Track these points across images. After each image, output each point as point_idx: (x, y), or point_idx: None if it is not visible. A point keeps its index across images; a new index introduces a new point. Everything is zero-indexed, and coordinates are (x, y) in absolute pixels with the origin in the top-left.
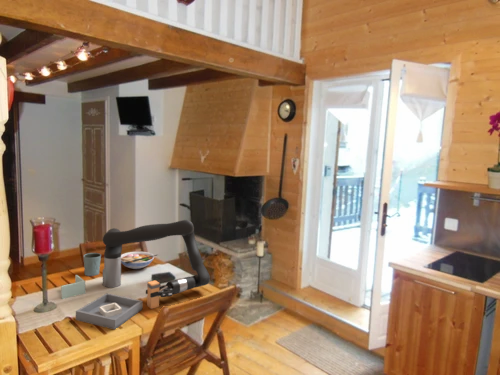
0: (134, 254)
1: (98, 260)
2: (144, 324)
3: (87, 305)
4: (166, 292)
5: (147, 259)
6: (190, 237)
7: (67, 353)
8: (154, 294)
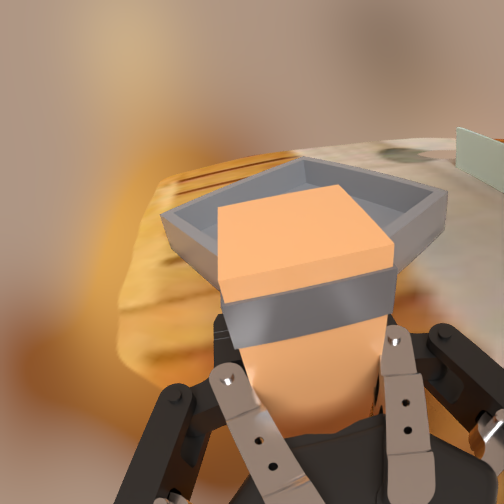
0: None
1: None
2: (119, 328)
3: (334, 165)
4: (138, 452)
5: None
6: None
7: (154, 195)
8: (215, 333)
